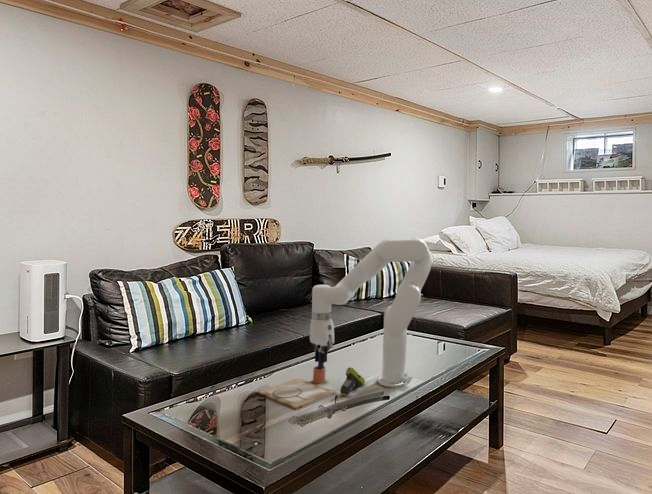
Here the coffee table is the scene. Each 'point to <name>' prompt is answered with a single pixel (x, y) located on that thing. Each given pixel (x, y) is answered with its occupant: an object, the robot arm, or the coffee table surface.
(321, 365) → the pen
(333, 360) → the coffee table surface
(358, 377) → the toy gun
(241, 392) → the coffee table surface
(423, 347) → the coffee table surface
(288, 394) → the drawing board
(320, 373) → the pen pot
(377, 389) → the coffee table surface
